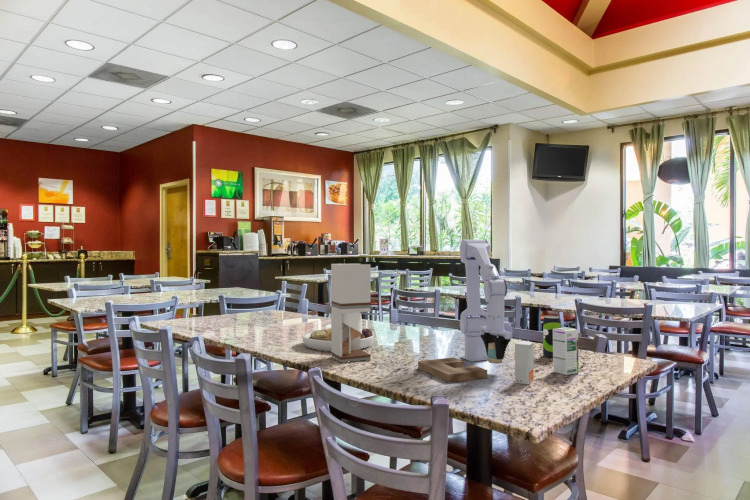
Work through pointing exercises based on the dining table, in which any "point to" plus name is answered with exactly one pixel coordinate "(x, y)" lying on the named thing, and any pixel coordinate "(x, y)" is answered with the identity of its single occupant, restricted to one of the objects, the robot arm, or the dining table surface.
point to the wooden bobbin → (492, 354)
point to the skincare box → (524, 362)
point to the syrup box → (565, 351)
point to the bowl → (323, 339)
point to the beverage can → (549, 334)
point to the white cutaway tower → (349, 310)
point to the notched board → (452, 369)
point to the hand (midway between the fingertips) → (495, 357)
